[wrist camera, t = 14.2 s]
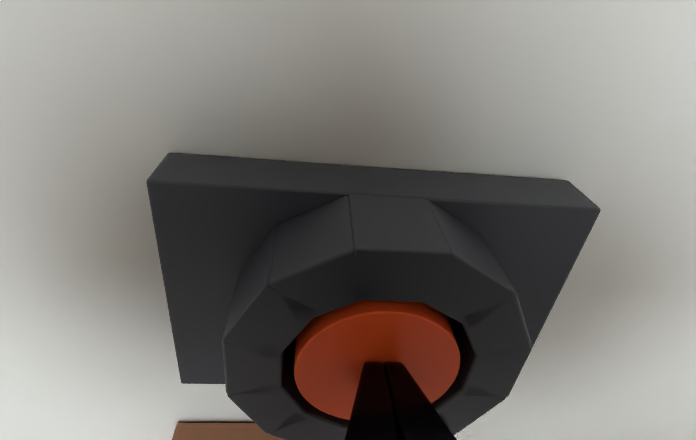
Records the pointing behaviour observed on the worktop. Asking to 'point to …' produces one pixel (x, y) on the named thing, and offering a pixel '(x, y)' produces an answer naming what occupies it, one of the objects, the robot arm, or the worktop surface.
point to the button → (373, 350)
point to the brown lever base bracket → (221, 432)
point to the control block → (355, 270)
